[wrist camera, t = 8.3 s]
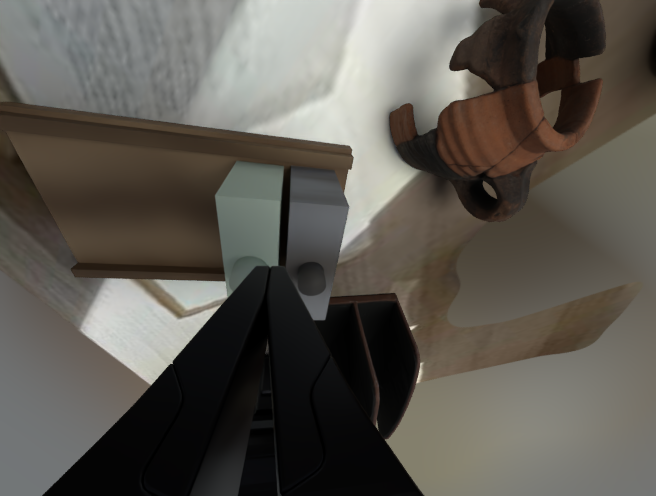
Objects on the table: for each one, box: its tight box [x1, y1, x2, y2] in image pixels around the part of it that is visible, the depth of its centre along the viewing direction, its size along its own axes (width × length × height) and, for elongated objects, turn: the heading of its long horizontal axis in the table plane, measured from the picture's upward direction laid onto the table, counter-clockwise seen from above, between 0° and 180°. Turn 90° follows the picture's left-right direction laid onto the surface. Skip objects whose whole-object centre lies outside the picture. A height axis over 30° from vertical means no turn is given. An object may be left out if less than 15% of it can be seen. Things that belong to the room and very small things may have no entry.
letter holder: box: [314, 293, 420, 439], centre depth 27 cm, size 10×20×14 cm, turn 178°
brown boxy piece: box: [0, 102, 354, 320], centre depth 16 cm, size 12×20×8 cm, turn 82°
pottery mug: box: [390, 0, 606, 222], centre depth 15 cm, size 12×10×8 cm
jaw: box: [215, 161, 284, 297], centre depth 16 cm, size 9×3×7 cm, turn 172°
